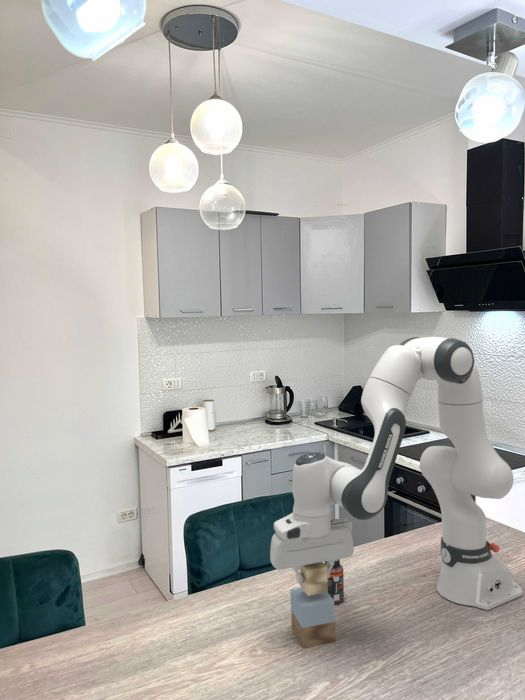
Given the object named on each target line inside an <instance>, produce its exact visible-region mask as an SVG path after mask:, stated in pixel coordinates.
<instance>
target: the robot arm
mask: <svg viewBox="0 0 525 700" xmlns="http://www.w3.org/2000/svg"><path fill="white" fill-rule="evenodd" d="M476 365H477V364H475V357H474V352H473V350H472V348H471V347H470V345H469V344H468V343H467V342H465V341H463V340H460V339H458V338H453V337H452V338H451V337H450V338H448V337H443V336H442V337H441V336H429V337H420V336H419V337H418V336H416V337H415V336H414V337H410V338H407V339H405V340H403V341H402V342H401V343H400V344H396V345H395V344H394V345H391V346H389V347H388V348H387V349H386V350H385V351H384V352H383V354H382V355H381V357H380V358H379V359H378V360H377V363H376V364H375V366H374V367H373V370H371V373H370V374H369V375H370V376H369V377H368V379H367V381H366V383H365V385H364V387H363V390H362V395H361V399H360V403H361V407H362V409H363V412H364V414H366V416H367V417H368V418H369V420H370V421H371V423H372V425H373V429H374V437H373V439H372V440H373V441H372V443H371V446H370V449H369V453H368V456H367V458H366V460H365V464H364V465H363V468H361V469H359V468H358V467H356V466H354V465H352V464H350V463H348V462H346V461H345V462H344V461H343V462H342V461H339V460H336V459H333V458H331V457H329V456H327V455H326V454H325V453H323V452H318V451H317V452H308V453H303V454H301V455H300V456H299V457H297V458H296V460H295V462H294V465H293V469H292V496H293V499H294V503H293V507H292V512H291V513H290V514H287V515H286V516H284V517H282V518H280V519H278V520H275V521H274V522H273V529H274V531H275V533H273V535H272V537H271V540H270V541H271V542H270V548H269V549H270V552H269V555H270V557H269V558H270V563H271V565H272V566H273V567H274V568H275V569H276V570H278V571H280V570H285V569H291V568H292V570H293V571H294V573H295V574H296V575H295V576H296V582H297V584H299V585H300V583H305V580H304V579H305V576H304V575H303V573H300V566H303V565H309V564H314V563H320V562H323V563H325V562H327V563H326V566H327V578H330V571H331V569H332V567H333V565H334V560H337V559H340V560H341V559H348V558H351V557H352V556H353V554H354V552H355V551H354V550H355V549H354V547H355V546H354V541H353V535H352V533H353V522H352V521H351V519H349V518H346V517H340V518H334V519H332V517H331V516H332V515H331V513H332V512H331V507H332V506H333V505H338V506H340V507H341V508H343V509H345V511H346V512H348V513H349V515H350V516H352V517H353V518H355V519H356V520H360V521H365V520H366V521H367V520H370V519H373V518H374V517H376V516H378V514H380V513H381V512H382V511H383V509H384V507H385V506H386V503H387V500H388V494H389V493H388V492H389V486H390V485H389V483H390V481H391V480H390V479H391V476H392V472H393V470H394V467H395V463H396V461H397V458H398V454H399V451H400V449H401V445H402V441H403V439H404V435H405V433H406V432H405V431H406V428H407V427H406V425H407V422H406V421H407V419H406V412H407V408H408V405H409V402H410V399H411V397H412V394H413V392H415V391H414V390H415V388H416V386H417V382H418V381H420V379H424V380H426V381H433V380H434V381H435V382H436V383H437V386H438V387H437V402H438V403H437V404H438V419H439V428H440V430H441V432H442V433H443V435H444V436H446V437H447V438H448V439H449V440H450V442H451V443H452V444H453V446H454V447H452V446H448V445H432V446H428V447H427V448H426V449H424V451H423V452H422V453H421V457H420V458H419V459H420V460H419V468H420V471H421V474H422V476H423V477H424V478H425V479H426V480H427V482H428V483H429V485H431V487H432V490H433V491H434V493H435V495H436V498H437V501H438V503H439V507H440V511H441V513H440V514H441V525H442V526H441V529H442V536H441V537H440V556H441V563H440V571H439V576H438V579H437V584H436V586H435V588H436V591H437V592H438V594H439V595H440V596H441V597H443V598H444V599H446V600H449V601H450V602H453V603H456V604H459V605H464V606H471V607H475V608H479V609H482V610H484V611H485V610H486V611H488V610H489V611H490V610H492V609H494V608H496V607H499V606H501V605H503V604H506V603H508V602H510V601H513V600H515V599H517V598H520V597H522V596H523V595H524V591H523V589H522V587H521V586H520V585H519V584H518V583H517V582H516V581H514V577H513V574H512V571H511V569H510V568H509V567H508V565H506V564H505V563H504V562H503V561H501V560H500V559H499V558H497V557H496V556H495V555H494V554H492V552H493V553H496V554H497V553H498V552H499V551H500V546H499V545H497V544H495V542H491V543H490V542H489V541H488V540H487V518H486V517H487V516H486V515H485V512H484V510H483V509H482V508H481V506H479V505H478V504H477V502H475V501H474V498H473V496H476V497H479V498H481V499H482V498H483V499H494V500H495V499H496V500H500V499H504V498H505V497H506V496H507V495H508V494H509V493H510V491H511V490H512V488H513V485H514V474H513V471H512V468H511V467H510V465H509V464H508V463H507V462H506V461H505V460H504V459H503V458H502V457H501V456H500V455H499V454H498V453H497V451H496V450H495V447H494V446H493V444H492V443H491V440H490V439H489V436H488V434H487V430H486V429H487V428H486V425H485V416H484V402H483V400H484V399H483V390H482V383H481V378H480V373H479V370H478V368H477V366H476ZM491 551H492V552H491Z"/></svg>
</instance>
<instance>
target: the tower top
mask: <svg viewBox="0 0 525 700" xmlns="http://www.w3.org/2000/svg"><path fill="white" fill-rule="evenodd" d="M291 610H292V612H293V614H294V615H295V617H296V619H297V620H298V622H299V624H300V625H301V627H302V628H306V627H311V626H316V625H321V624H326V623H331V622H335V623H336V620H335V604H334V600H333V599H332V597H331V596H330V595H329V594H328V592H325V593H320V594H315V595H310V596H308V595H307V594H306V593H305V591H304V590H303V589H302V588H301V587H297V588H292V589H290V611H291Z"/></svg>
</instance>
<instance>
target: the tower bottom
mask: <svg viewBox="0 0 525 700" xmlns="http://www.w3.org/2000/svg"><path fill="white" fill-rule="evenodd" d="M290 611H291V612H290V615H291V616H290V619H291V630H292V632H293V634H294V635H295V637H296V638H297V640H298V642H299V643H300V646H301V647H302V649H307V648H308V649H309V648H311V647H312V648H313V647H318V646H321V645H327V644H331V643H336V640H337V639H336V621H335V622H331V623H326V624H321V625H316V626H311V627H306V628H302V627H301V625H300V624H299V622H298V620H297V619H296V617H295V615H294V614H293V612H292V610H291V609H290Z"/></svg>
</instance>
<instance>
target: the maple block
mask: <svg viewBox="0 0 525 700" xmlns="http://www.w3.org/2000/svg"><path fill="white" fill-rule="evenodd" d="M324 563H325V562H320V563H314V564H309V565H303V566H300V570H299V573H303V575H304V576H305V579H304V580H305V583H300V584H299V586H300V588H302V589H303V590H304V591H305V593H306V594H307V595H308V596H310V595H315V594H320V593H325V592H328V583H327V566H326V565H325V564H324Z"/></svg>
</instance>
